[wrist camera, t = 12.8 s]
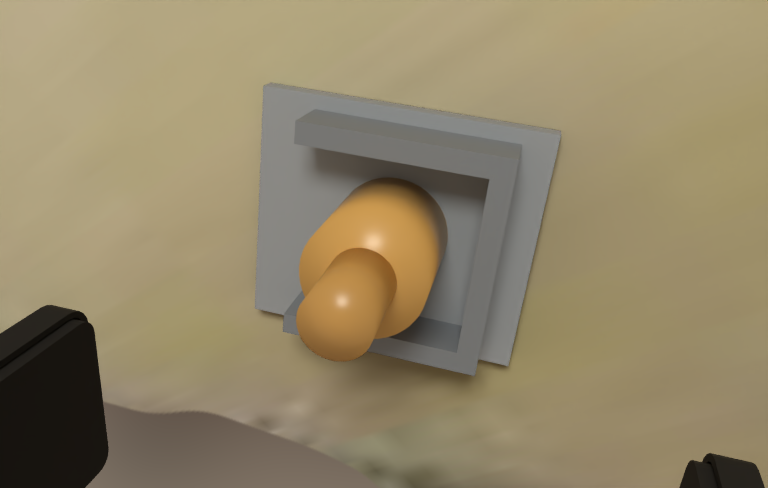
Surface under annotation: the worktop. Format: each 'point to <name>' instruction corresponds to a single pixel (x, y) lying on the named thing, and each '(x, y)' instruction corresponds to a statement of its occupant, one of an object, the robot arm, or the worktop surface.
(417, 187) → the amber bottle
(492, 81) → the worktop surface
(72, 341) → the robot arm
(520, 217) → the u rest
